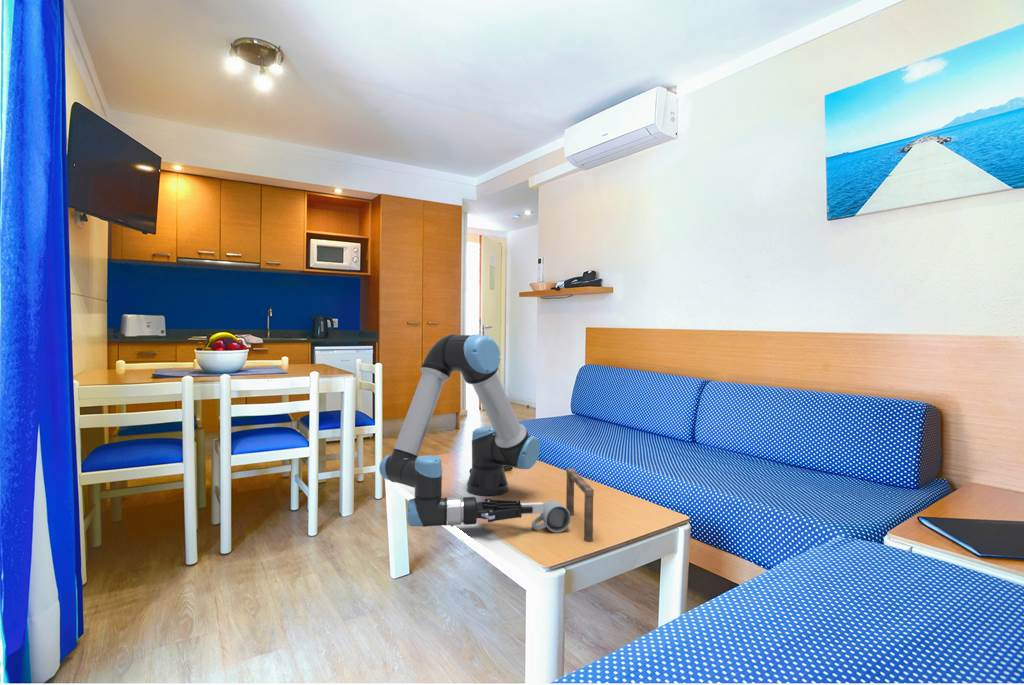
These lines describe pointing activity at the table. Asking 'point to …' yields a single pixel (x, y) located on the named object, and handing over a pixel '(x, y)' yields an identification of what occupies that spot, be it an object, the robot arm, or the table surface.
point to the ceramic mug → (553, 517)
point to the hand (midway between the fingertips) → (542, 507)
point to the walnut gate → (588, 504)
